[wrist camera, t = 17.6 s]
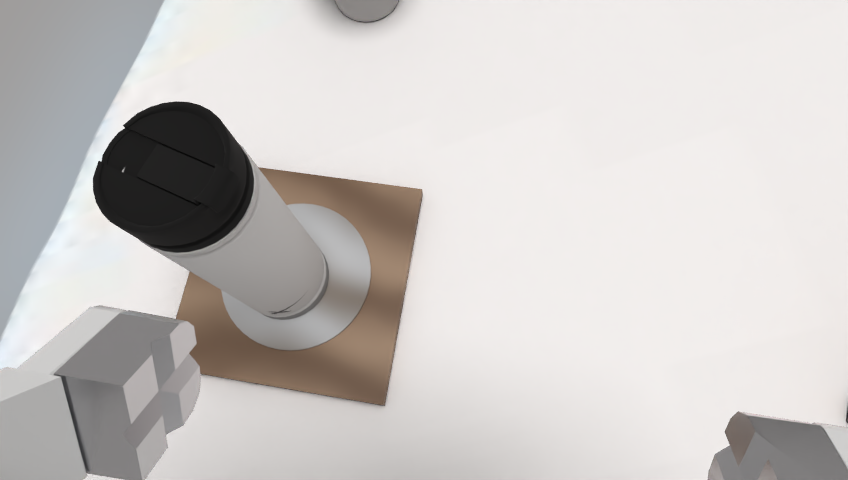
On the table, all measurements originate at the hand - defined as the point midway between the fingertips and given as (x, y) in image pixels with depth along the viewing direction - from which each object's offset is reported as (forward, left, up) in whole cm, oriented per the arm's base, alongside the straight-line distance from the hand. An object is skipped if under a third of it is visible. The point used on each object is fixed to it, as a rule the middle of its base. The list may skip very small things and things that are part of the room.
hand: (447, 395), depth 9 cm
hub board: (+8, +13, -33) cm, 37 cm away
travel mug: (+8, +13, -32) cm, 36 cm away
